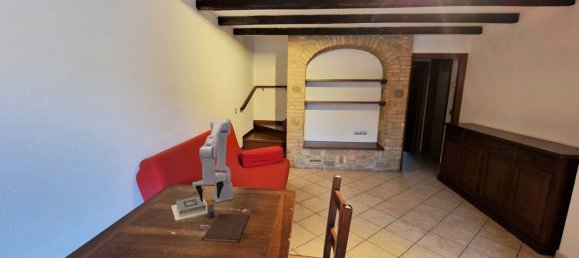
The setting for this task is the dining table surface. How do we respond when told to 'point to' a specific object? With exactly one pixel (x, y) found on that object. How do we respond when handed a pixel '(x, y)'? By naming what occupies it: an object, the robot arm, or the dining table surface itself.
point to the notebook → (227, 228)
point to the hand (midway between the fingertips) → (210, 199)
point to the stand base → (178, 218)
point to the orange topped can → (210, 208)
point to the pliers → (191, 194)
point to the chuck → (190, 206)
